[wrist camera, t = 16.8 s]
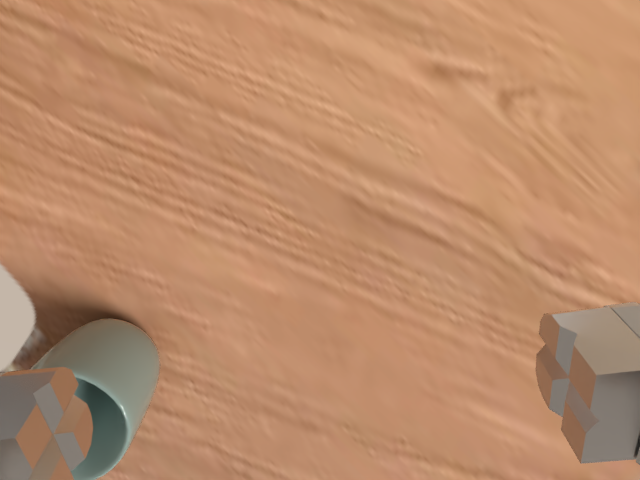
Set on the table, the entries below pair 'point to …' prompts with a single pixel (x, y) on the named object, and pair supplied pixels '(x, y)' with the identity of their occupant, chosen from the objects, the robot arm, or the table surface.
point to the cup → (108, 385)
